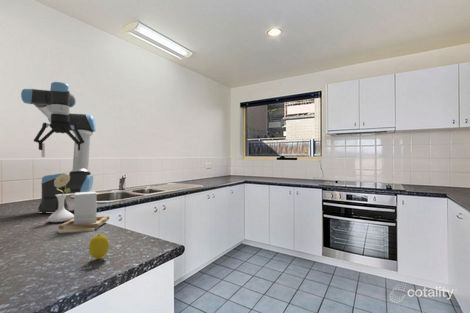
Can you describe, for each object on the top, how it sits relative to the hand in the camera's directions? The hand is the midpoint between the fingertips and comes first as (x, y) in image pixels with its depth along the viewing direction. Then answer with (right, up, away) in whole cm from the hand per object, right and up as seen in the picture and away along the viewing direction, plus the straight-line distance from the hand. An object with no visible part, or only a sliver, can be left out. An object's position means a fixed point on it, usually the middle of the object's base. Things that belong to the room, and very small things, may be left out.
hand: (60, 157), depth 119 cm
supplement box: (+15, -32, -4) cm, 36 cm away
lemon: (+44, -33, -43) cm, 69 cm away
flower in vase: (-3, -34, +5) cm, 34 cm away
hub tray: (+15, -33, -4) cm, 37 cm away
